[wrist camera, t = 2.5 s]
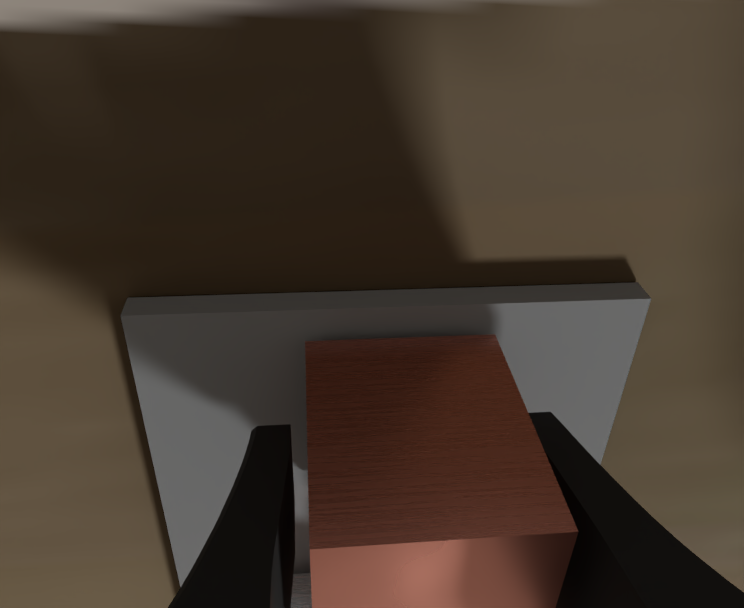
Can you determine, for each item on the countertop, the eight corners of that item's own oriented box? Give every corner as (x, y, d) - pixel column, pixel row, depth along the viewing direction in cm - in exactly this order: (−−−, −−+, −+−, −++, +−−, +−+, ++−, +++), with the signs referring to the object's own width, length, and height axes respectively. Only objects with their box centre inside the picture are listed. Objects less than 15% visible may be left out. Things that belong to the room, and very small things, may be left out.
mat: (515, 705, 23) (520, 724, 22) (218, 732, 22) (217, 752, 21) (637, 282, 13) (651, 298, 13) (127, 297, 13) (120, 315, 12)
